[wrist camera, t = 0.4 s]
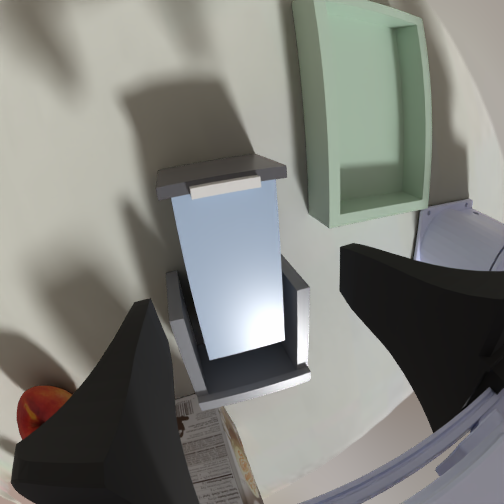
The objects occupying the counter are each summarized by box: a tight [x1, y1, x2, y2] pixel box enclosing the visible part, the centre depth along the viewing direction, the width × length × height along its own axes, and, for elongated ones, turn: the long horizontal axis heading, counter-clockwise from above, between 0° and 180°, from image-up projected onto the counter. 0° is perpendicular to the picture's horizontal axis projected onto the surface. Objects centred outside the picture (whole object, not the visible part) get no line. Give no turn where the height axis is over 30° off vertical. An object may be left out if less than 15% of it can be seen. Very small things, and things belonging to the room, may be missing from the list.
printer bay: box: [166, 254, 311, 411], centre depth 20 cm, size 8×8×6 cm
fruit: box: [17, 386, 72, 440], centre depth 18 cm, size 8×8×8 cm
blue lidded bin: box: [156, 154, 287, 360], centre depth 18 cm, size 6×11×6 cm, turn 5°
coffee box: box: [175, 394, 264, 504], centre depth 21 cm, size 9×6×16 cm
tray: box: [291, 0, 432, 228], centre depth 17 cm, size 10×16×3 cm, turn 5°
